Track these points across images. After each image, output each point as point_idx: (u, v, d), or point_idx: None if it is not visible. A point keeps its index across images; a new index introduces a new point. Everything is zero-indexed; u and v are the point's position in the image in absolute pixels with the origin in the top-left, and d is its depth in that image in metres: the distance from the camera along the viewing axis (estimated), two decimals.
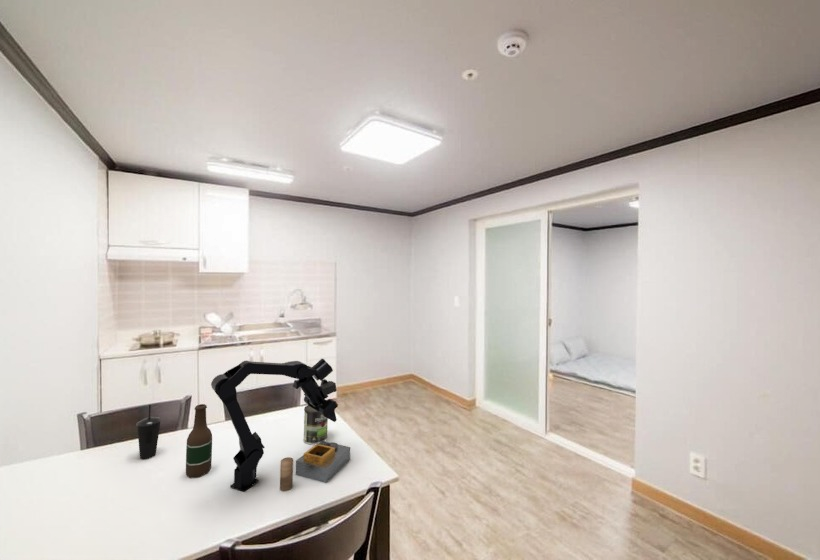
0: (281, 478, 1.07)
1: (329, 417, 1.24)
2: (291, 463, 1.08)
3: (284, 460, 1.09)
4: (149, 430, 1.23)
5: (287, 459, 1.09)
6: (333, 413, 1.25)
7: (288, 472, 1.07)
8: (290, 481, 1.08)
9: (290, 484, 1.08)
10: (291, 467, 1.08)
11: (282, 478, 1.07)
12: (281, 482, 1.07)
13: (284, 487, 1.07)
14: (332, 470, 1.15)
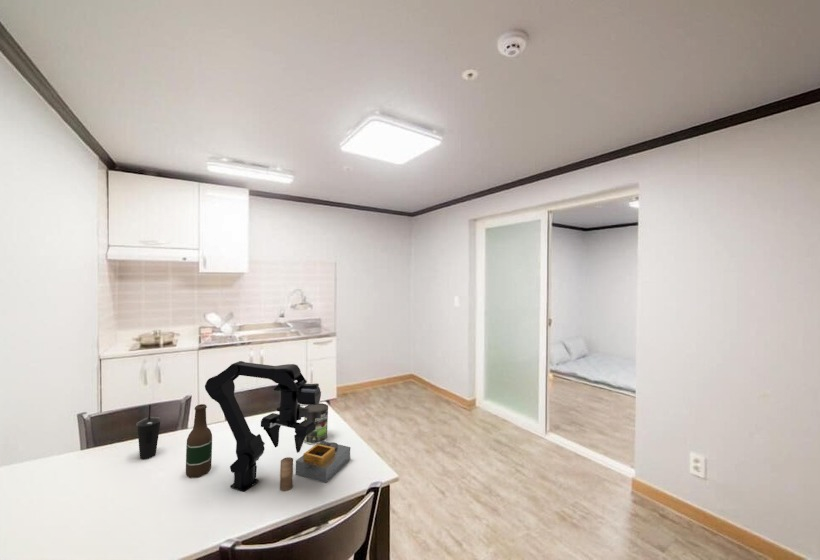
0: (281, 478, 1.07)
1: (299, 442, 1.06)
2: (291, 463, 1.08)
3: (284, 460, 1.09)
4: (149, 430, 1.23)
5: (287, 459, 1.09)
6: (303, 439, 1.08)
7: (288, 472, 1.07)
8: (290, 481, 1.08)
9: (290, 484, 1.08)
10: (291, 467, 1.08)
11: (282, 478, 1.07)
12: (281, 482, 1.07)
13: (284, 487, 1.07)
14: (332, 470, 1.15)
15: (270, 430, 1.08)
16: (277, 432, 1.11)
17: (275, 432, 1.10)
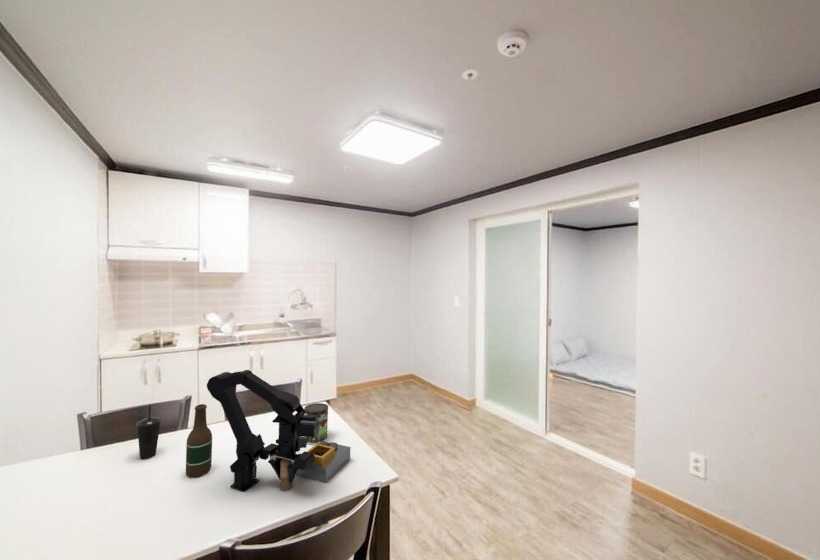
0: (281, 478, 1.07)
1: (292, 473, 1.06)
2: None
3: (284, 460, 1.09)
4: (149, 430, 1.23)
5: None
6: (296, 470, 1.08)
7: None
8: None
9: (290, 484, 1.08)
10: None
11: (282, 478, 1.07)
12: (281, 482, 1.07)
13: (284, 487, 1.07)
14: (332, 470, 1.15)
15: (275, 463, 1.07)
16: None
17: None
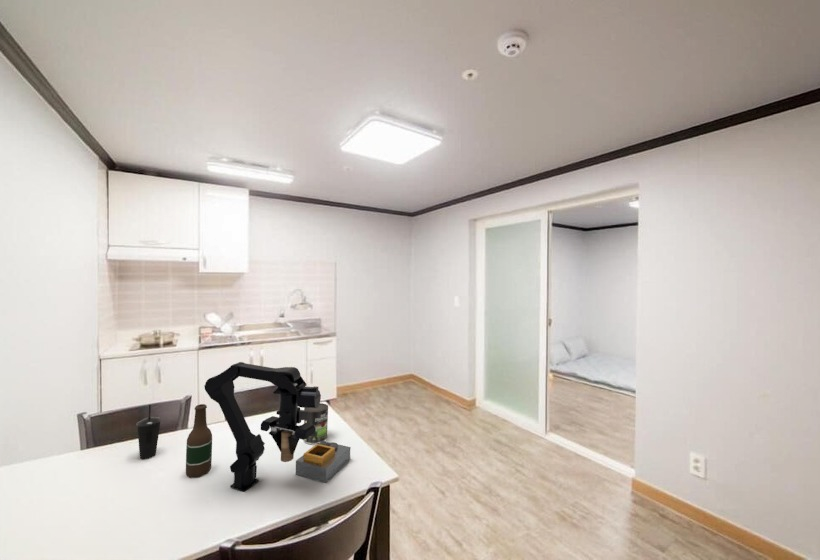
0: (282, 449, 1.07)
1: (293, 444, 1.06)
2: None
3: (285, 431, 1.09)
4: (149, 430, 1.23)
5: (288, 431, 1.09)
6: (297, 441, 1.08)
7: None
8: None
9: (291, 455, 1.08)
10: None
11: (283, 449, 1.07)
12: (282, 453, 1.07)
13: (285, 458, 1.07)
14: (332, 470, 1.15)
15: (276, 435, 1.08)
16: None
17: None
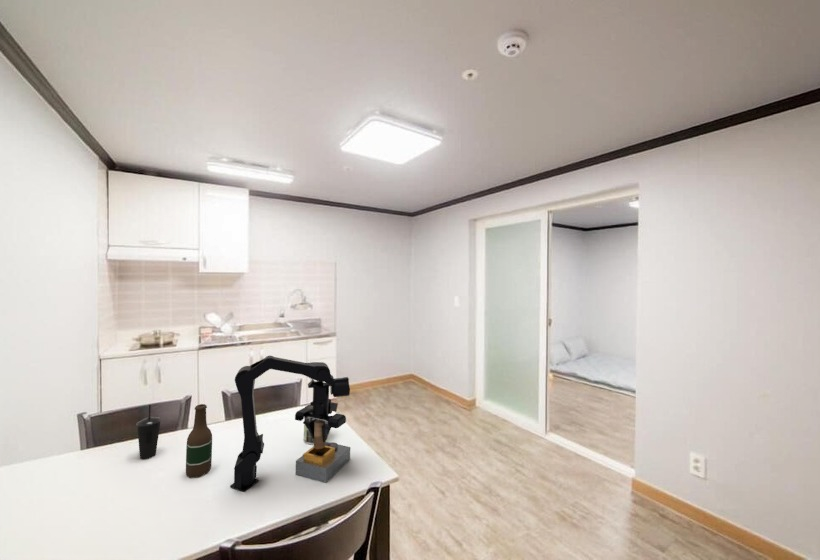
0: (315, 437, 1.17)
1: (325, 432, 1.16)
2: None
3: (317, 421, 1.18)
4: (149, 430, 1.23)
5: (320, 421, 1.19)
6: (328, 430, 1.18)
7: None
8: None
9: (323, 443, 1.17)
10: None
11: (316, 437, 1.17)
12: (315, 441, 1.17)
13: (318, 446, 1.16)
14: (332, 470, 1.15)
15: (309, 424, 1.17)
16: None
17: (313, 426, 1.19)
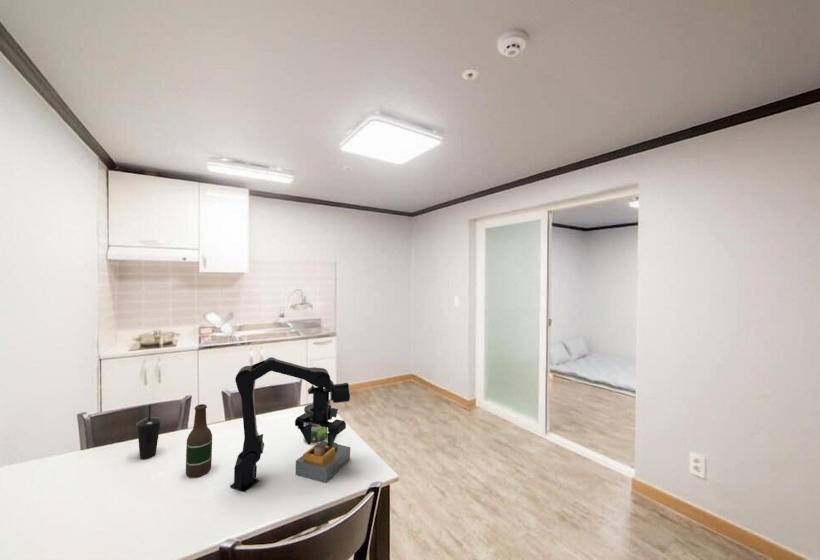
0: None
1: (331, 440, 1.15)
2: (324, 449, 1.18)
3: (317, 446, 1.18)
4: (149, 430, 1.23)
5: (320, 446, 1.19)
6: (334, 437, 1.17)
7: None
8: None
9: None
10: (324, 453, 1.18)
11: None
12: None
13: None
14: (332, 470, 1.15)
15: (304, 429, 1.18)
16: (310, 431, 1.21)
17: (308, 431, 1.20)
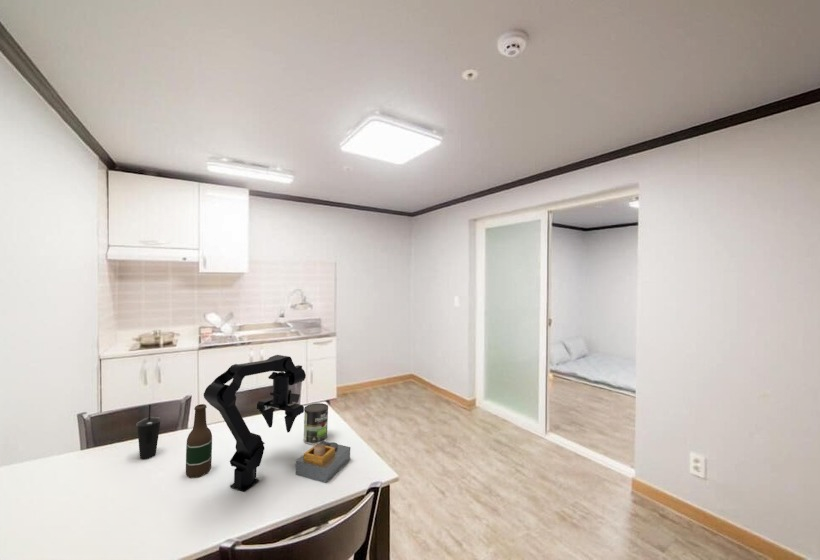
0: None
1: (289, 423, 1.19)
2: (324, 449, 1.18)
3: (317, 446, 1.18)
4: (149, 430, 1.23)
5: (320, 446, 1.19)
6: (292, 421, 1.21)
7: None
8: None
9: None
10: (324, 453, 1.18)
11: None
12: None
13: None
14: (332, 470, 1.15)
15: (264, 412, 1.23)
16: (271, 414, 1.25)
17: (269, 414, 1.25)
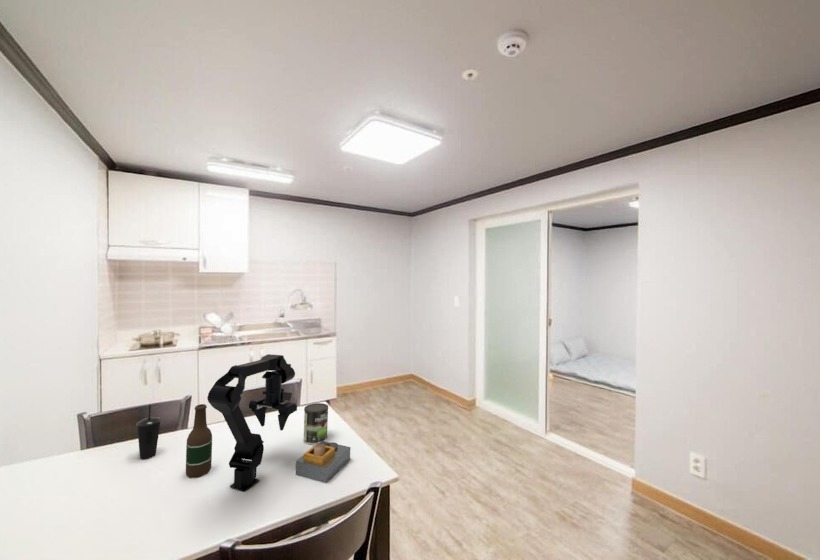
0: None
1: (282, 421, 1.20)
2: (324, 449, 1.18)
3: (317, 446, 1.18)
4: (149, 430, 1.23)
5: (320, 446, 1.19)
6: (285, 419, 1.22)
7: None
8: None
9: None
10: (324, 453, 1.18)
11: None
12: None
13: None
14: (332, 470, 1.15)
15: (257, 411, 1.23)
16: (263, 413, 1.26)
17: (262, 413, 1.25)
